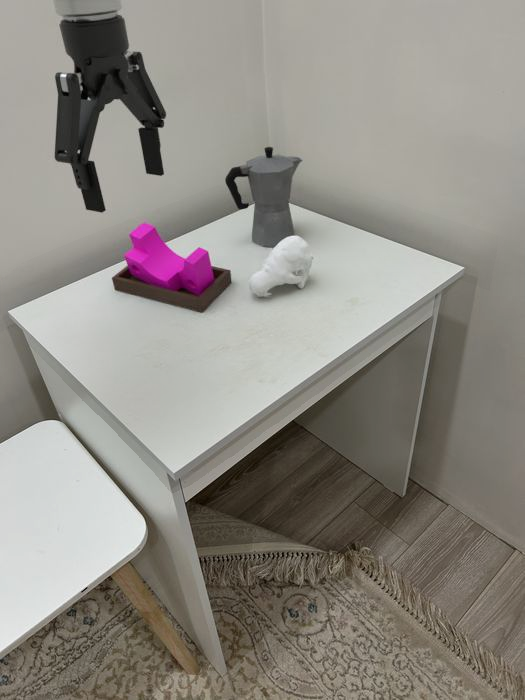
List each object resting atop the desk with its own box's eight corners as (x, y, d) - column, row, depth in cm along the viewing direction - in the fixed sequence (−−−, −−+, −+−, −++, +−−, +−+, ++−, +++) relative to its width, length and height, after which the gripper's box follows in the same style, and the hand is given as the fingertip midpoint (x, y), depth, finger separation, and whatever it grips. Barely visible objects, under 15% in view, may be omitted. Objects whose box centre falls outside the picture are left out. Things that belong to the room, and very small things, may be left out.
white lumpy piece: (315, 239, 90) (257, 269, 86) (318, 281, 96) (264, 311, 92) (291, 226, 94) (235, 254, 90) (296, 267, 100) (243, 296, 96)
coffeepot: (292, 220, 116) (290, 133, 104) (312, 238, 109) (312, 148, 97) (224, 237, 111) (214, 148, 100) (241, 257, 105) (232, 165, 93)
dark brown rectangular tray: (114, 290, 98) (111, 277, 96) (147, 263, 105) (145, 251, 103) (202, 312, 91) (200, 299, 89) (231, 282, 98) (230, 269, 96)
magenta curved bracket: (130, 274, 99) (118, 242, 93) (154, 254, 102) (144, 222, 96) (191, 306, 92) (182, 273, 87) (215, 283, 95) (208, 251, 90)
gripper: (37, 35, 54) (89, 232, 67) (176, 1, 71) (196, 163, 84) (-17, 33, 56) (44, 223, 70) (130, 1, 74) (156, 158, 87)
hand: (127, 191), depth 77 cm, fingers open, 13 cm apart
